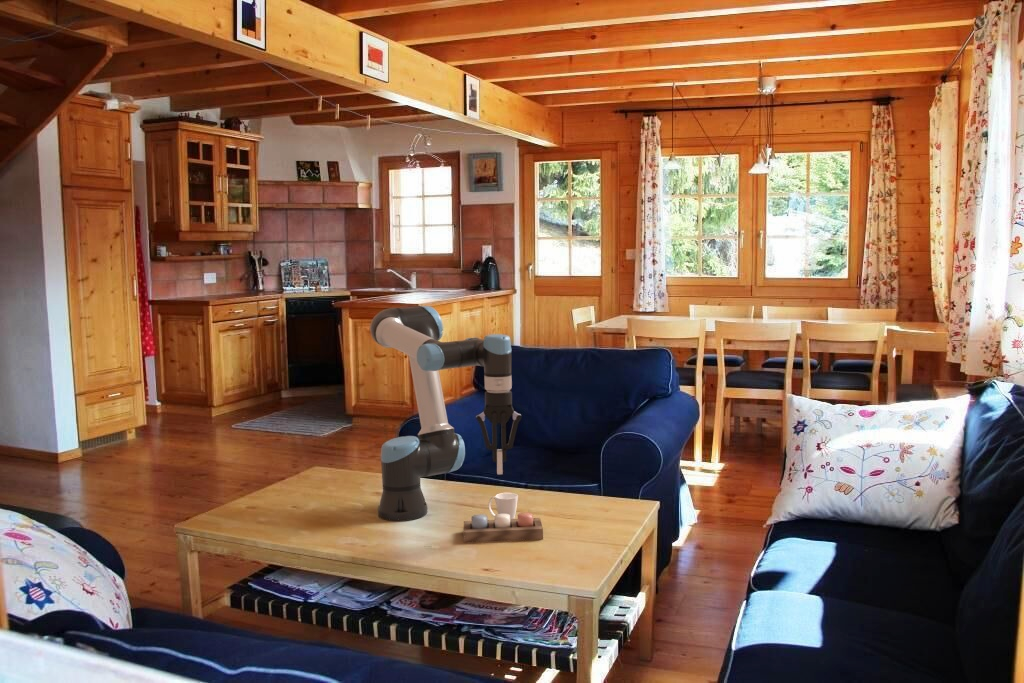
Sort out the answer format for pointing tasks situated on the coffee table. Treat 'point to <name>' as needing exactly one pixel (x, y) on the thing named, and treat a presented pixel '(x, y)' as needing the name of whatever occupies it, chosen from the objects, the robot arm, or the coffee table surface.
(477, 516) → the blue egg
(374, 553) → the coffee table surface
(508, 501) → the cup
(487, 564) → the coffee table surface
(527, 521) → the pink egg
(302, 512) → the coffee table surface
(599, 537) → the coffee table surface
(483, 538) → the brown compartment tray
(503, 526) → the cream rounded knob
